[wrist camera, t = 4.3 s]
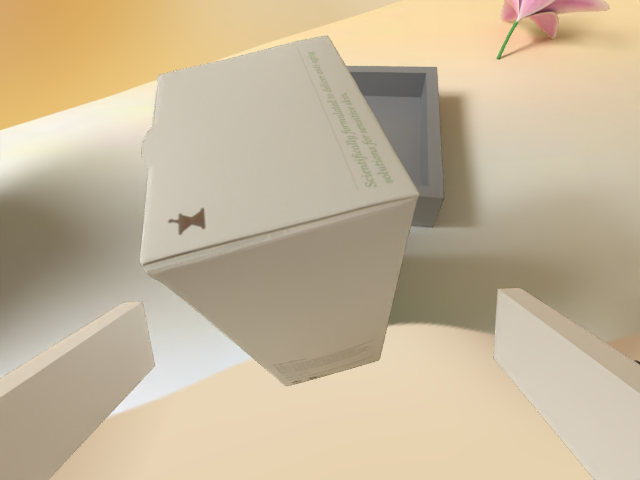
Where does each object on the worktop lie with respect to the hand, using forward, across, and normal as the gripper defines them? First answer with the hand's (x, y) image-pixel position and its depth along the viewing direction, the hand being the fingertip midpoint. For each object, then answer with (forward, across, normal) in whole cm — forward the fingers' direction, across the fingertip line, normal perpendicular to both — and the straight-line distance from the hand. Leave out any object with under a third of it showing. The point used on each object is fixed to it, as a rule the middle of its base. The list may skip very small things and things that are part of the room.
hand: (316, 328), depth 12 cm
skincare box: (+9, -1, -4) cm, 10 cm away
